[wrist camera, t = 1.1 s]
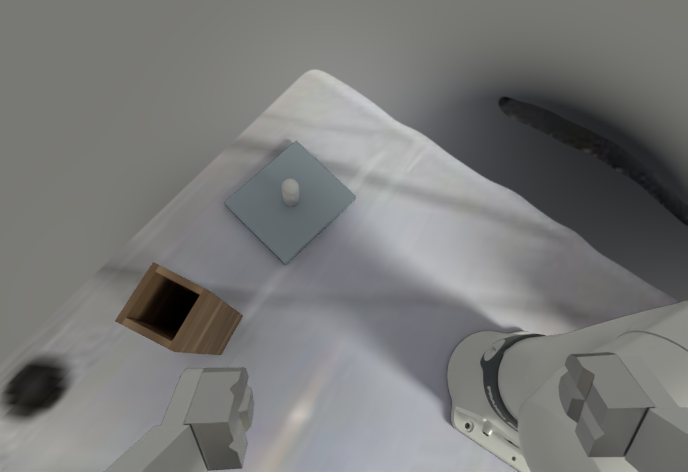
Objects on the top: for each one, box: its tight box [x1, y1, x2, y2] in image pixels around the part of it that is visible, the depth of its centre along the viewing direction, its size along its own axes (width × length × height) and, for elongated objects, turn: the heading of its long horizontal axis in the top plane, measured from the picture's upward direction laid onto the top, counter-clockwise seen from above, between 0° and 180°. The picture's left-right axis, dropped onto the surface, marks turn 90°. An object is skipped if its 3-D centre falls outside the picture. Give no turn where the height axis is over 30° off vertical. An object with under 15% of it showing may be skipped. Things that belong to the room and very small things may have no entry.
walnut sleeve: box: [115, 262, 242, 355], centre depth 53 cm, size 6×6×24 cm
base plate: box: [224, 141, 356, 265], centre depth 67 cm, size 14×16×8 cm
